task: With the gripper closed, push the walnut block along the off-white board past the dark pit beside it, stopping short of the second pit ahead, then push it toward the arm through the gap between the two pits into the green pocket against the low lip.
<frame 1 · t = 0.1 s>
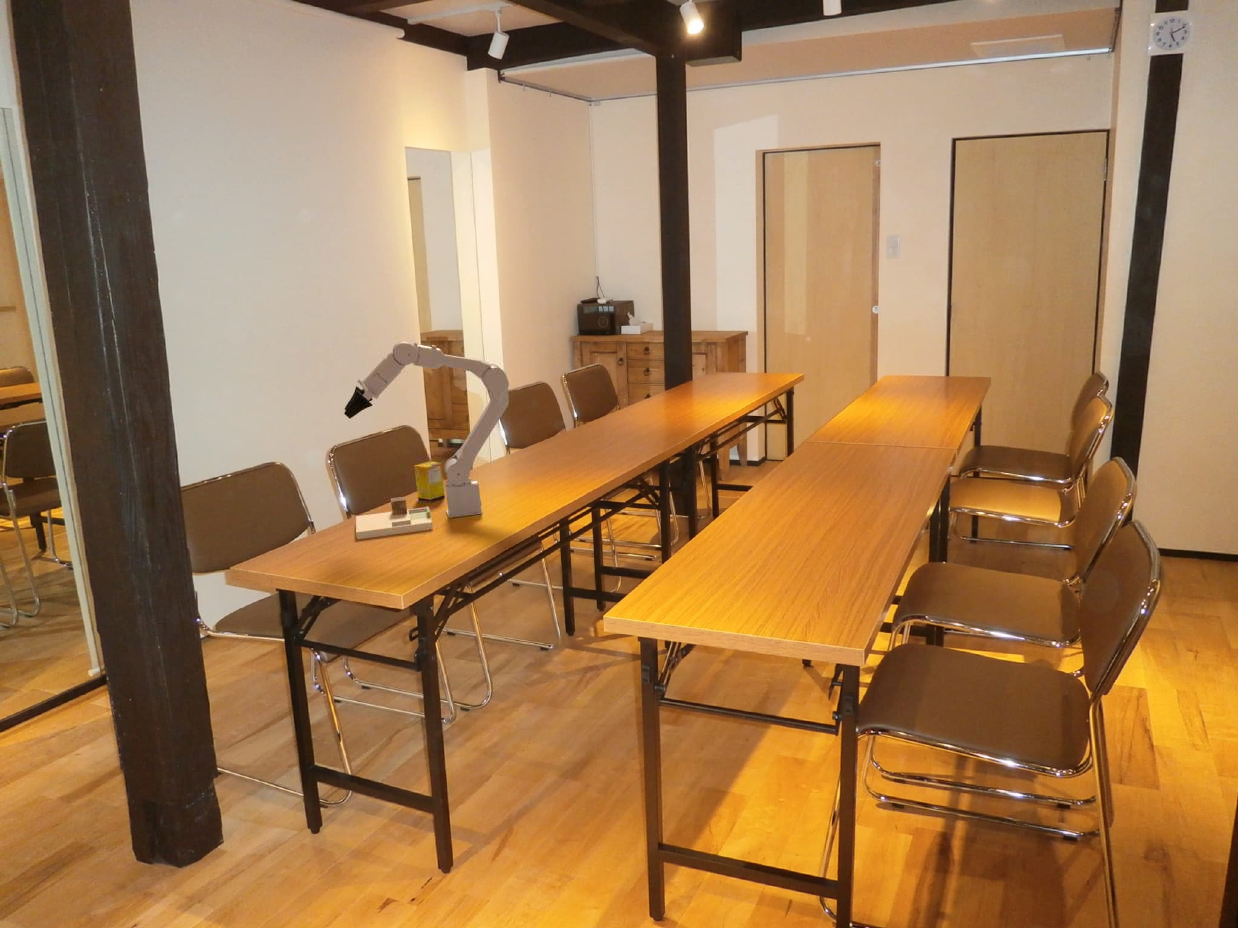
hand: (347, 413, 264), 32 cm above the table, tool tilted 50°, fingers open, 7 cm apart
supplement box: (431, 499, 296), on the table
deck: (394, 525, 270), on the table
block: (399, 512, 275), point 2 cm above the table, touching deck
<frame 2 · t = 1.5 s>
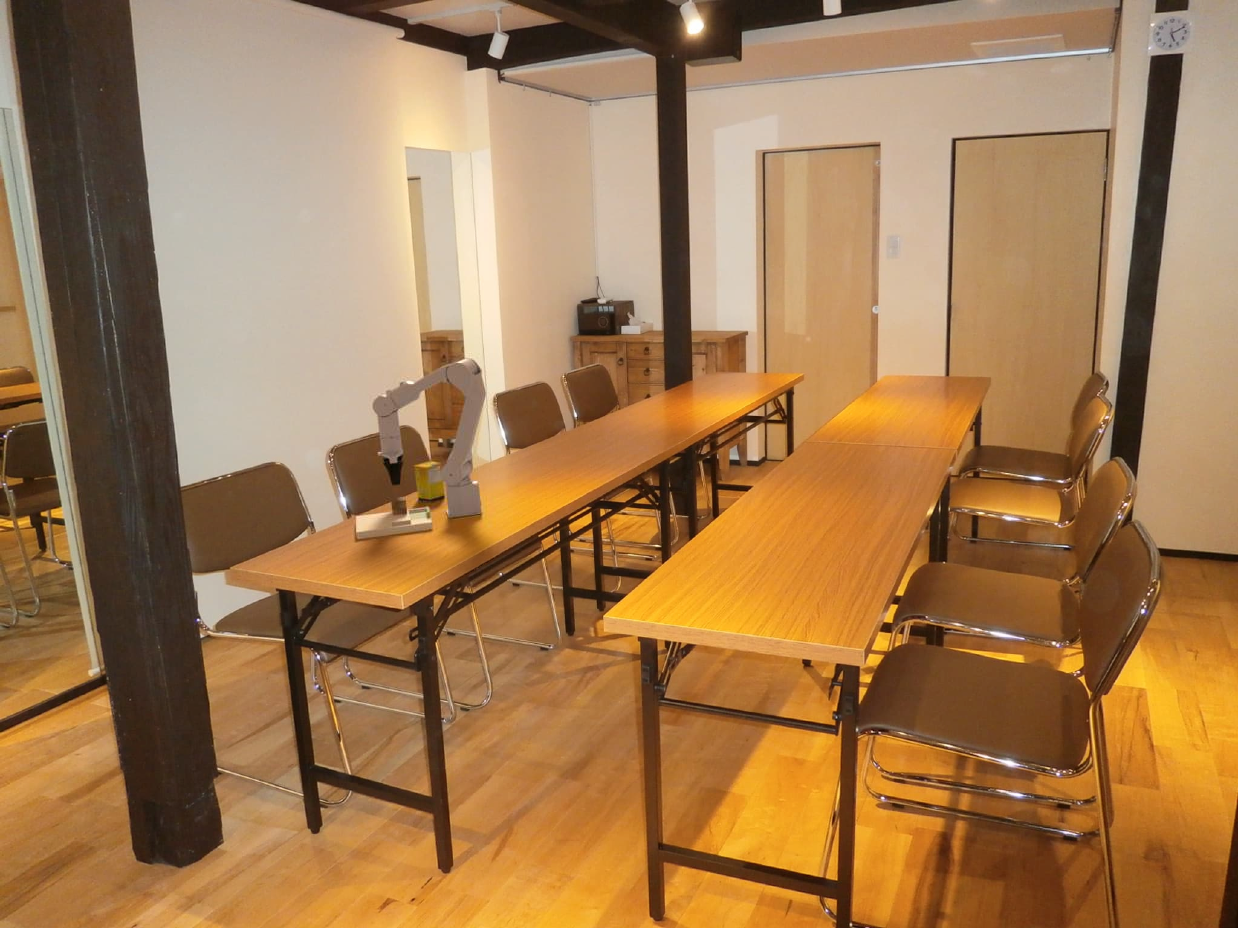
hand: (395, 482, 279), 9 cm above the table, tool pointing down, fingers open, 5 cm apart
nothing on the table moved.
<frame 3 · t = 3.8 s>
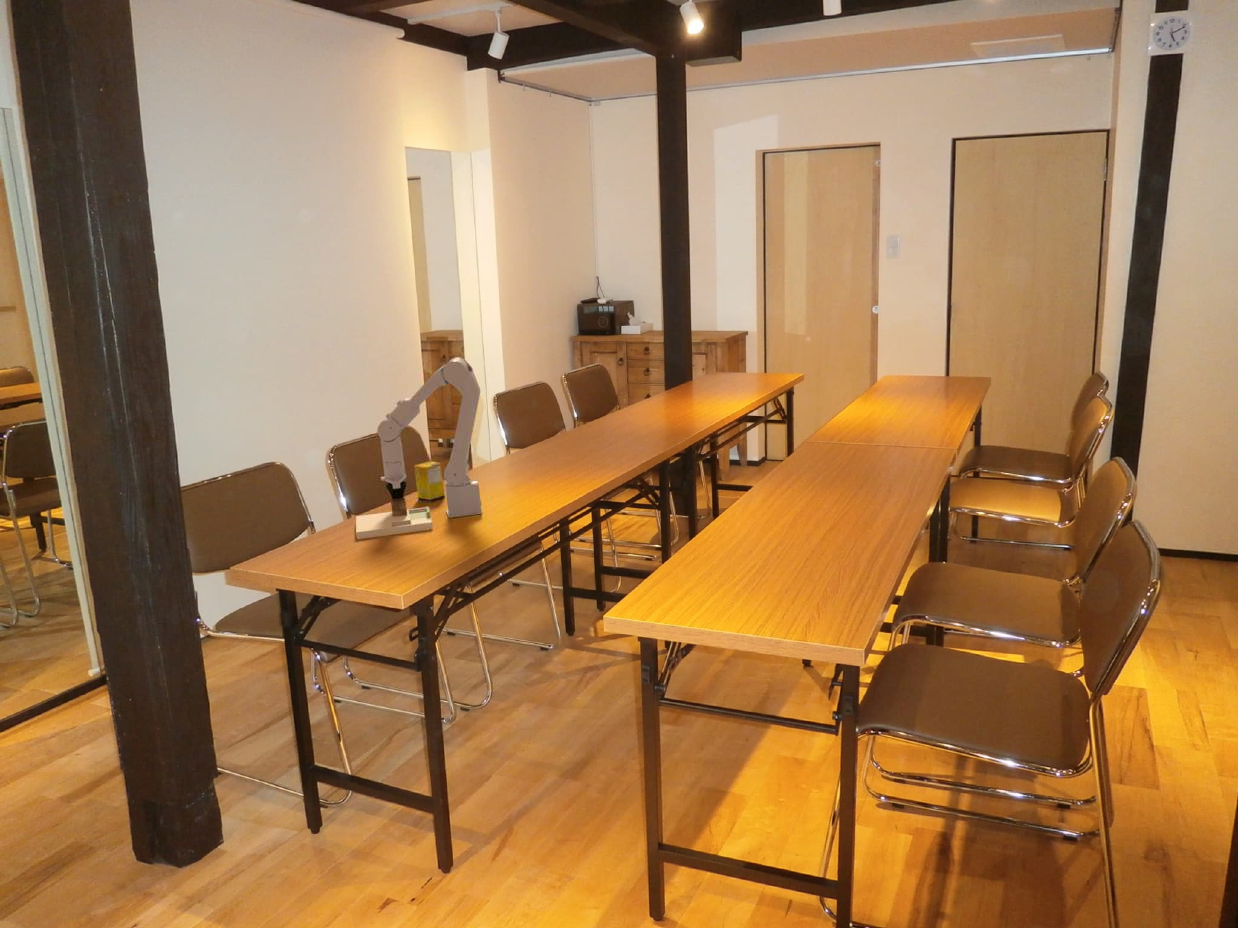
hand: (399, 507, 277), 3 cm above the table, tool pointing down, fingers closed, pressing on block
block: (399, 513, 274), point 2 cm above the table, touching deck, gripper
everything else where it was.
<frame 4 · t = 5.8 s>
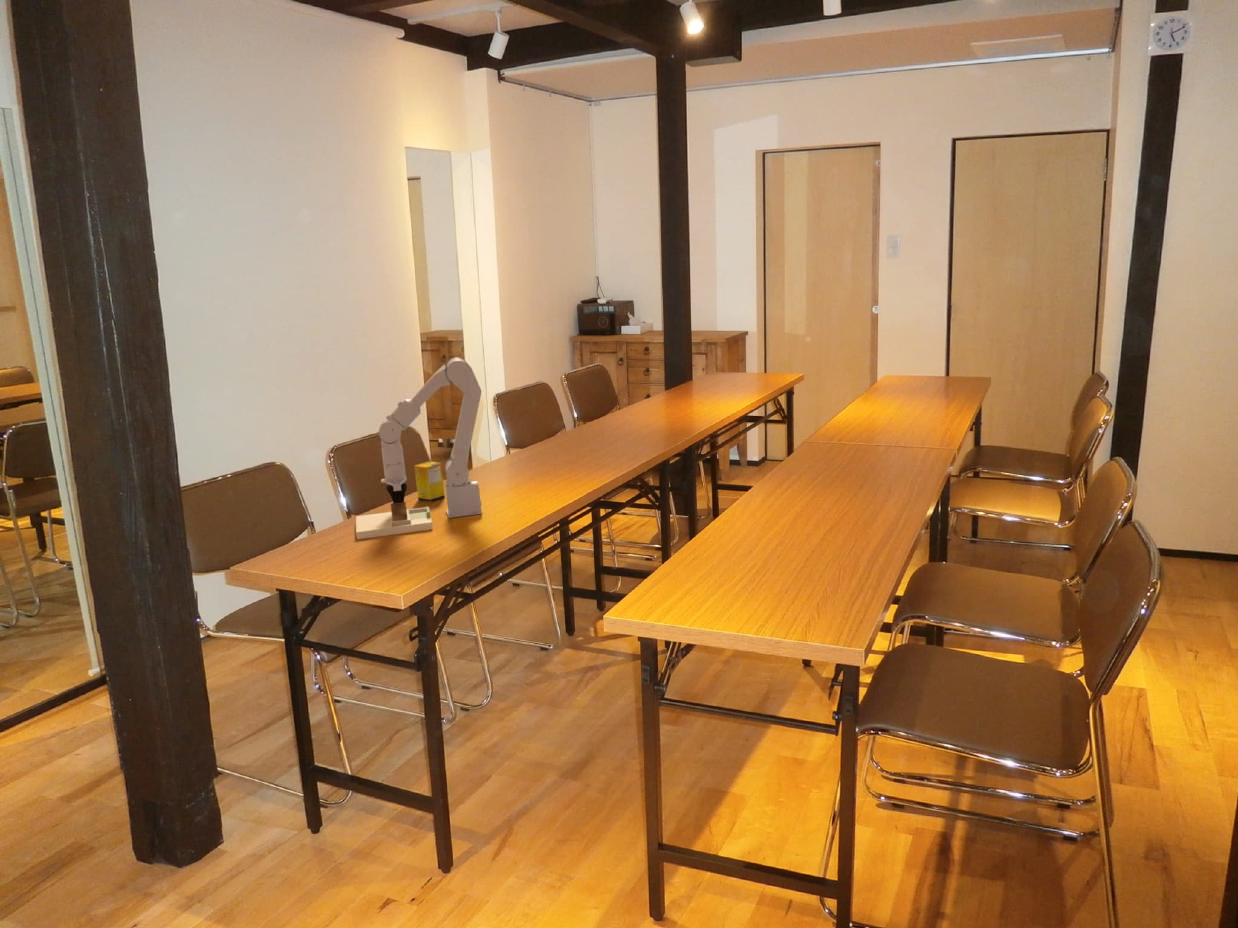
hand: (399, 509, 274), 3 cm above the table, tool pointing down, fingers closed
block: (400, 518, 269), point 2 cm above the table, touching deck
everything else where it was.
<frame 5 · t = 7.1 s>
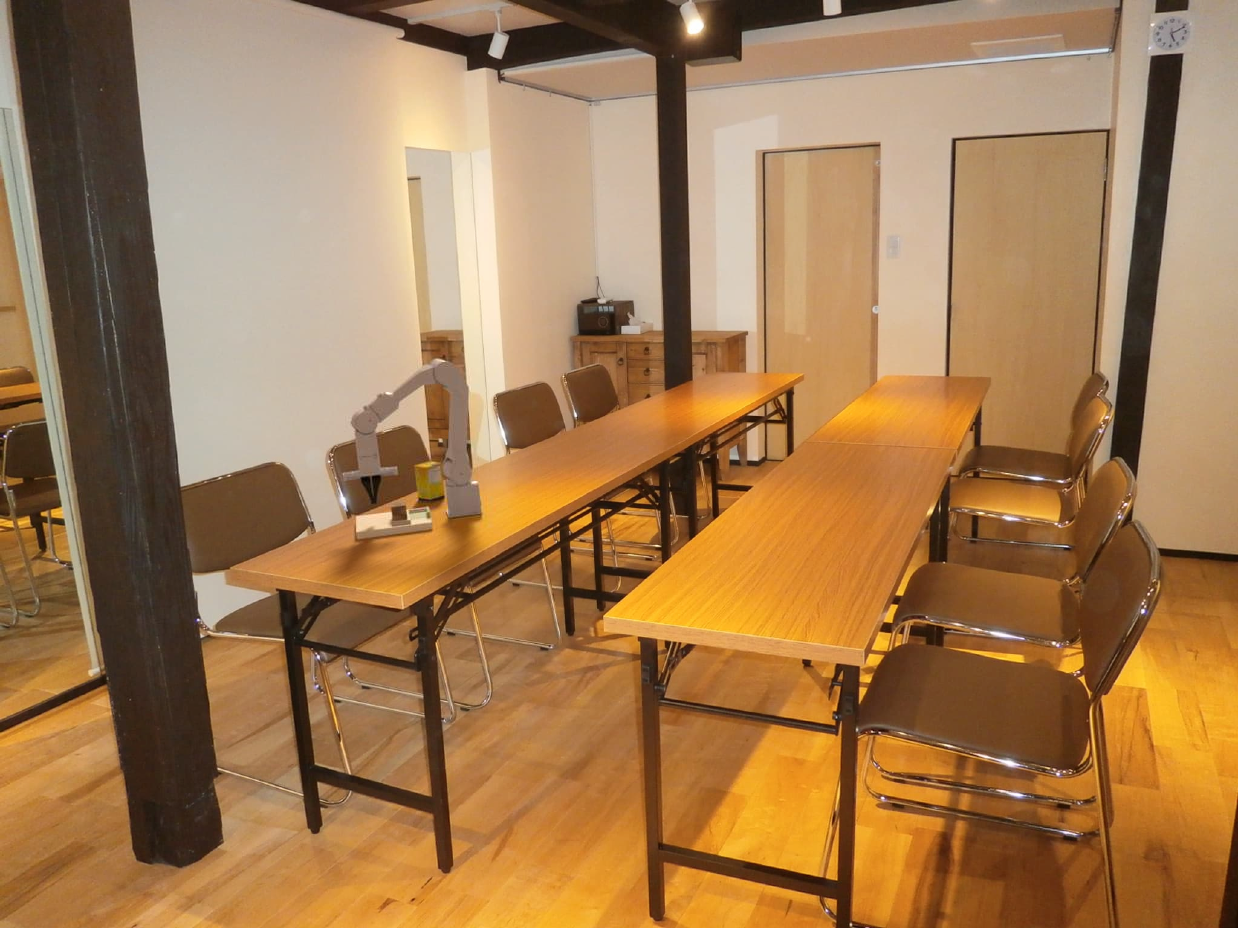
hand: (374, 503, 267), 7 cm above the table, tool pointing down, fingers closed
nothing on the table moved.
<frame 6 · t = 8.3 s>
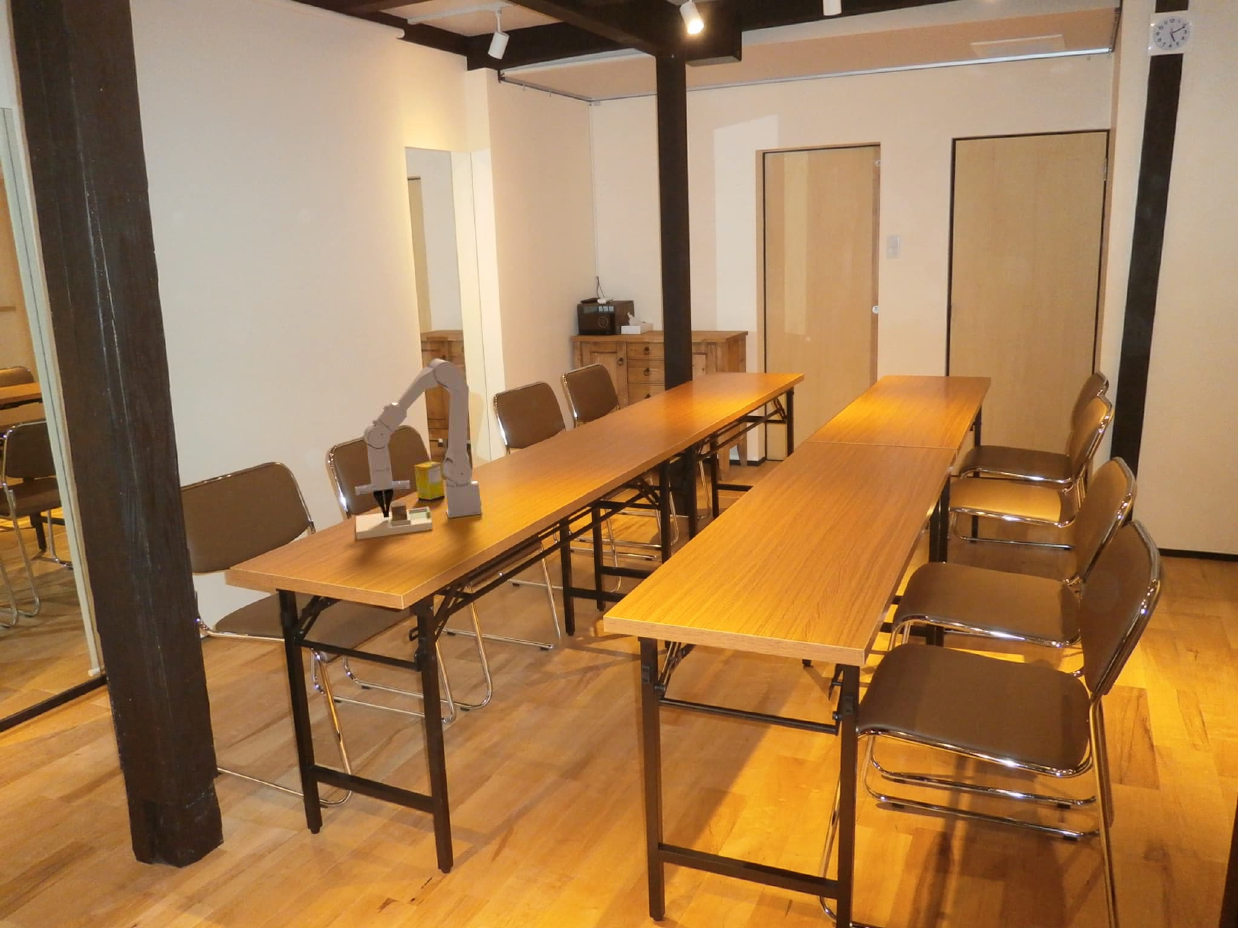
hand: (386, 516, 268), 3 cm above the table, tool pointing down, fingers closed
block: (400, 518, 269), point 2 cm above the table, touching deck, gripper
everything else where it was.
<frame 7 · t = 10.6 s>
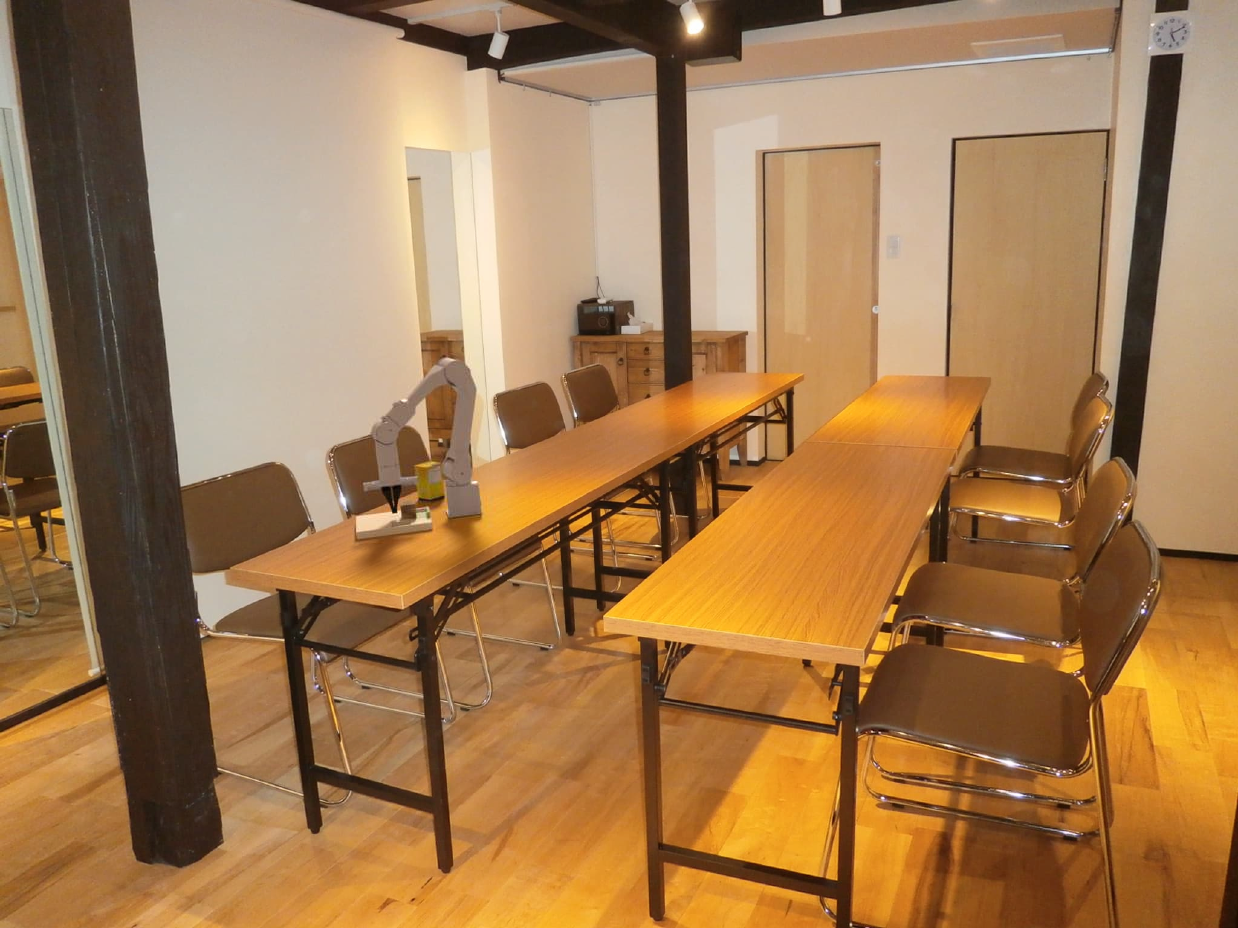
hand: (394, 512, 269), 4 cm above the table, tool pointing down, fingers closed
block: (409, 516, 270), point 2 cm above the table, touching deck
everything else where it was.
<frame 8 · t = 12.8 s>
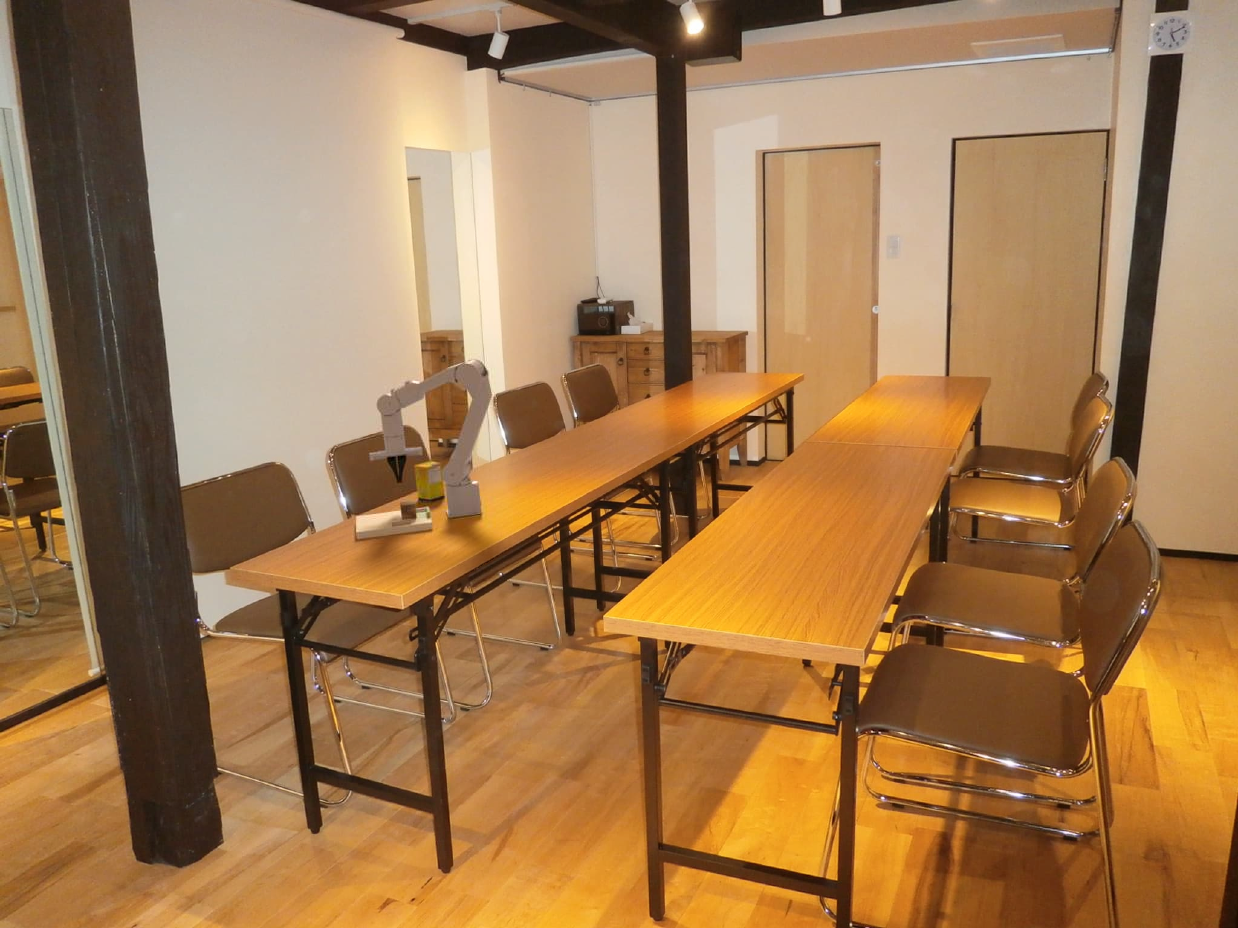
hand: (399, 481, 278), 10 cm above the table, tool pointing down, fingers closed
nothing on the table moved.
at the end: block 1.6 cm from the target spot on the deck, point 2.0 cm above the deck's base; block tilted 0° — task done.
